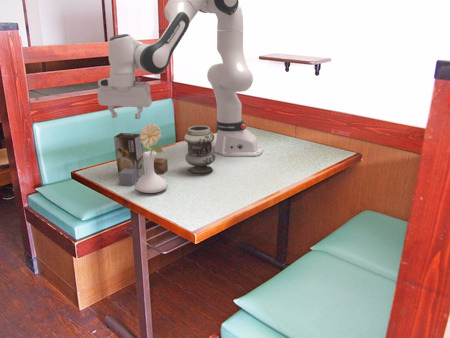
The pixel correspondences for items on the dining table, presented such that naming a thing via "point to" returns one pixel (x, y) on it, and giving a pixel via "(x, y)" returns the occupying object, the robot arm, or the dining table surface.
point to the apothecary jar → (199, 149)
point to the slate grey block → (128, 177)
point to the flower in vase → (151, 161)
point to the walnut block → (160, 165)
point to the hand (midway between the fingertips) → (126, 117)
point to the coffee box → (129, 152)
